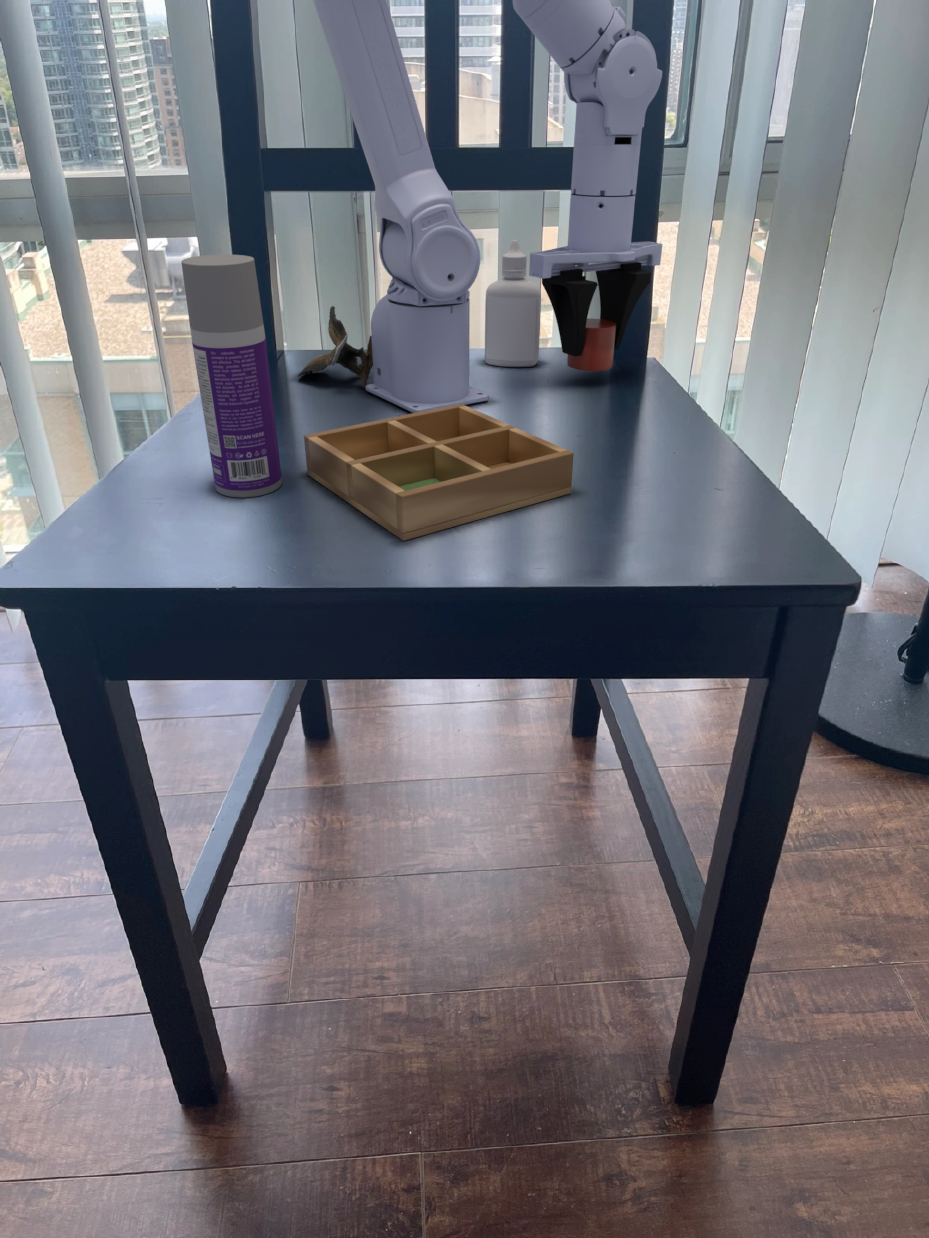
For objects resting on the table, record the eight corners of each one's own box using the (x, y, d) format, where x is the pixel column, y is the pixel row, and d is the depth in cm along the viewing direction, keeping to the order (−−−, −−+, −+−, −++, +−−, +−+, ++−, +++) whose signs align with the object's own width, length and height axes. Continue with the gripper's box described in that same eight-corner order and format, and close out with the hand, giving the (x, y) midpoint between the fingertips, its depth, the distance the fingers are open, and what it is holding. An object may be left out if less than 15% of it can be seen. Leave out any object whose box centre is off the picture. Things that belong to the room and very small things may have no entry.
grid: (307, 474, 63) (303, 435, 61) (461, 439, 69) (461, 403, 68) (403, 541, 53) (401, 496, 52) (571, 493, 60) (574, 452, 58)
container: (294, 477, 62) (270, 256, 55) (260, 501, 58) (229, 267, 51) (238, 469, 64) (207, 252, 56) (202, 492, 60) (163, 263, 52)
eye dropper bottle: (520, 372, 87) (525, 245, 81) (477, 363, 90) (478, 240, 84) (545, 363, 90) (551, 240, 84) (502, 355, 93) (505, 236, 87)
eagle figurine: (406, 363, 85) (342, 335, 89) (384, 309, 79) (316, 281, 83) (359, 418, 83) (295, 387, 87) (332, 367, 77) (265, 336, 81)
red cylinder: (557, 363, 84) (560, 321, 82) (591, 357, 86) (594, 316, 84) (587, 373, 81) (591, 330, 79) (621, 367, 83) (626, 324, 81)
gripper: (570, 201, 69) (559, 370, 76) (693, 194, 76) (673, 349, 83) (517, 195, 74) (511, 354, 81) (637, 189, 81) (623, 335, 88)
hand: (590, 350), depth 83 cm, fingers closed on red cylinder, 4 cm apart
